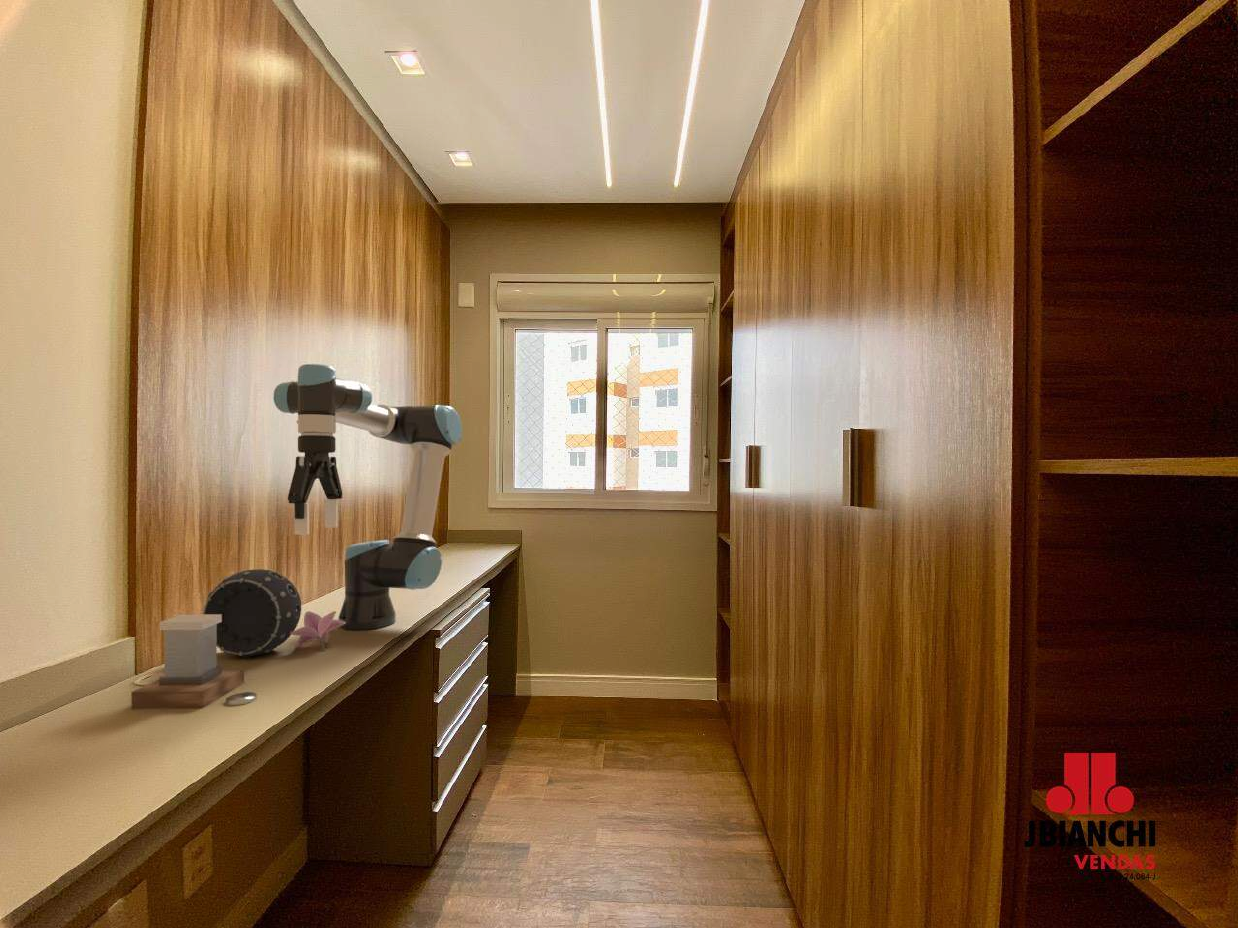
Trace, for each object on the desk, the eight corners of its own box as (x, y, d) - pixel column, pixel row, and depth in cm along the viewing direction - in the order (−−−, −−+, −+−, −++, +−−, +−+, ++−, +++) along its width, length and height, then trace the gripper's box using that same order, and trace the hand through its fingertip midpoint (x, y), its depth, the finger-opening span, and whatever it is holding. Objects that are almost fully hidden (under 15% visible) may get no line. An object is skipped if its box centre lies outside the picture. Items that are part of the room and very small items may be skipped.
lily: (354, 645, 156) (343, 610, 159) (344, 639, 146) (333, 601, 148) (304, 665, 152) (294, 628, 155) (290, 660, 142) (280, 621, 145)
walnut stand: (180, 683, 126) (180, 668, 126) (244, 682, 127) (244, 668, 127) (131, 708, 113) (131, 692, 113) (202, 707, 114) (202, 691, 114)
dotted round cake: (284, 660, 141) (284, 573, 141) (195, 661, 140) (195, 574, 140) (306, 647, 151) (307, 566, 151) (224, 647, 151) (224, 566, 151)
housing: (181, 674, 123) (181, 614, 123) (221, 674, 123) (221, 614, 123) (159, 685, 117) (159, 622, 117) (201, 684, 117) (202, 621, 117)
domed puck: (235, 697, 120) (235, 692, 120) (261, 696, 120) (261, 691, 120) (220, 707, 115) (220, 702, 115) (247, 707, 115) (247, 701, 115)
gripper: (325, 437, 148) (326, 524, 149) (268, 432, 123) (268, 537, 124) (357, 437, 148) (357, 524, 149) (306, 432, 124) (306, 537, 124)
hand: (317, 530), depth 136 cm, fingers open, 13 cm apart
